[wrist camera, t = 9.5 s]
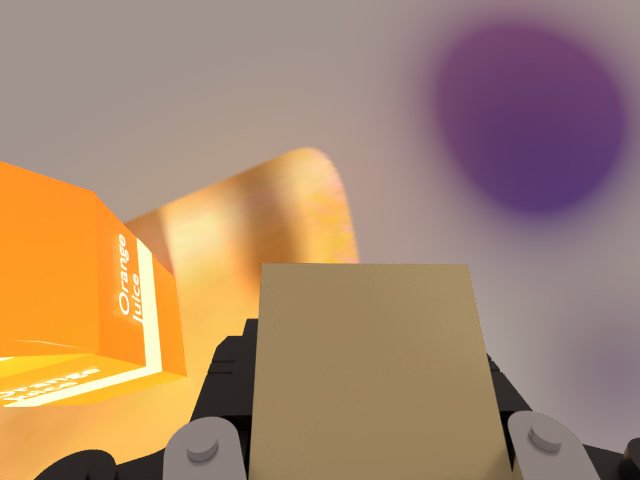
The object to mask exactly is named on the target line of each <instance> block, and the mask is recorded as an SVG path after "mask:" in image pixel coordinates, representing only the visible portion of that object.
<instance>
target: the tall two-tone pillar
mask: <svg viewBox="0 0 640 480" xmlns="http://www.w3.org/2000/svg"><path fill="white" fill-rule="evenodd" d="M249 480H512V470H511V466H510V461H509V456H508V452H507V447H506V442H505V438H504V433H503V428H502V424H501V419H500V414H499V410H498V405H497V400H496V396H495V391H494V386H493V382H492V377H491V372H490V368H489V363H488V358H487V354H486V349H485V344H484V340H483V335H482V330H481V326H480V322H479V316H478V312H477V307H476V303H475V298H474V293H473V288H472V284H471V280H470V274H469V270H468V265H447V264H321V263H262V268H261V284H260V301H259V317H258V333H257V350H256V366H255V383H254V399H253V416H252V432H251V448H250V465H249Z"/></svg>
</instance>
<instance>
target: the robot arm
mask: <svg viewBox="0 0 640 480" xmlns="http://www.w3.org/2000/svg"><path fill="white" fill-rule="evenodd" d="M257 333H258V319H247V320H246V324H245V328H244V332H243V335H242V336H227V337H226V338H225V339H224V340H223V341H222V342H221V343H220V344H219V345H218V346H217V348H216V350H215V353H214V356H213V359H212V363H211V364H210V367H209V370H208V374H207V375H206V378H205V381H204V383H203V386H202V389H201V392H200V395H199V397H198V400H197V403H196V406H195V408H194V411H193V414H192V417H191V419H190V422H189V423H188V424H186V425H184V426H183V427H182V428H180V429H179V430H178V431H177V432H176V433H175V434H174V435H173V436H172V438H171V439H170V440H169V442H168V444H167V446H166V447H165V448H164V449H162V450H160V451H158V452H156V453H153V454H151V455H148V456H145V457H141V458H138V459H135V460H132V461H129V462H125V463H122V464H119V465H116V463H115V460H114V458H113V457H112V456H111V455H110V454H109V453H107V452H105V451H102V450H84V451H80V452H76V453H73V454H71V455H68V456H66V457H64V458H62V459H60V460H58V461H57V462H55V463H53V464H52V465H51V466H49V467H48V468H46V469H45V470H44V471H43V472H42V473H40V474H39V475H38V476H37V477H36V478H35V479H34V480H249V465H250V448H251V432H252V416H253V399H254V383H255V366H256V350H257ZM486 354H487V353H486ZM487 358H488V363H489V368H490V372H491V377H492V382H493V386H494V391H495V396H496V400H497V405H498V410H499V414H500V419H501V424H502V428H503V433H504V438H505V442H506V447H507V452H508V456H509V461H510V466H511V470H512V480H640V438H635V439H632V440H631V441H630V442H629V443H628V445H627V448H626V450H625V452H624V454H620V453H616V452H613V451H609V450H604V449H600V448H596V447H592V446H588V445H584V444H582V443H581V442H580V440H579V439H578V438H577V436H575V434H574V433H573V432H572V431H571V430H569V429H568V428H567V427H566V426H564V425H563V424H562V423H560V422H558V421H557V420H555V419H553V418H551V417H549V416H547V415H544V414H541V413H537V412H533V410H532V409H531V408H530V407H529V405H528V404H527V403H526V402H525V400H524V399H523V398H522V397H521V395H520V394H519V393H518V392H517V390H516V389H515V388H514V387H513V385H512V384H511V383H510V381H509V380H508V379H507V378H506V376H505V375H504V374H503V373H502V372H500V369H499V368H498V366H497V365H496V364H495V363H494V361H491V357H490V356H489V355H488V354H487Z"/></svg>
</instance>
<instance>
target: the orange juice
mask: <svg viewBox="0 0 640 480" xmlns="http://www.w3.org/2000/svg"><path fill="white" fill-rule="evenodd" d="M184 377H187V374H186V366H185V358H184V349H183V341H182V332H181V324H180V315H179V307H178V298H177V290H176V282H175V278H174V277H173V276H172V275H171V274H170V273H169V272H168V271H167V270H166V269H165V268H164V267H163V265H162V264H161V263H160V262H159V261H158V260H157V259H156V258H155V257H154V256H153V255H152V254H151V252H150V251H149V250H148V249H147V248H146V247H145V245H144V244H143V243H142V242H141V241H140V240H139V239H138V238H136V237H135V236H134V235H133V234H132V233H131V232H130V231H129V230H128V229H127V228H126V227H125V226H124V225H123V223H122V222H121V221H120V220H119V219H118V218H117V217H116V216H115V215H114V214H113V213H112V212H111V211H110V210H109V209H108V208H107V207H106V206H105V205H104V204H103V202H101V201H100V199H99V198H98V197H97V196H96V193H95V192H92V191H89V190H86V189H83V188H80V187H77V186H74V185H71V184H68V183H65V182H62V181H58V180H55V179H52V178H49V177H46V176H43V175H40V174H37V173H34V172H31V171H28V170H25V169H22V168H19V167H16V166H13V165H9V164H7V163H4V162H1V161H0V406H4V407H10V406H38V405H88V404H92V403H96V402H99V401H103V400H106V399H110V398H113V397H117V396H120V395H124V394H127V393H131V392H134V391H138V390H141V389H145V388H148V387H152V386H156V385H159V384H163V383H166V382H170V381H173V380H177V379H180V378H184Z"/></svg>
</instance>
